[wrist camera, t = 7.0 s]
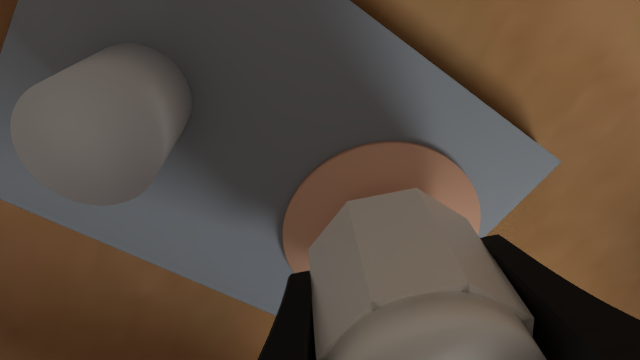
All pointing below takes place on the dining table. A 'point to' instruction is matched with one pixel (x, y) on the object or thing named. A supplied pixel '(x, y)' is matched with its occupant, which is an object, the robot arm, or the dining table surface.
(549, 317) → the robot arm
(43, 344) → the dining table surface
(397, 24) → the dining table surface
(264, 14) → the post board
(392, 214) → the cap
